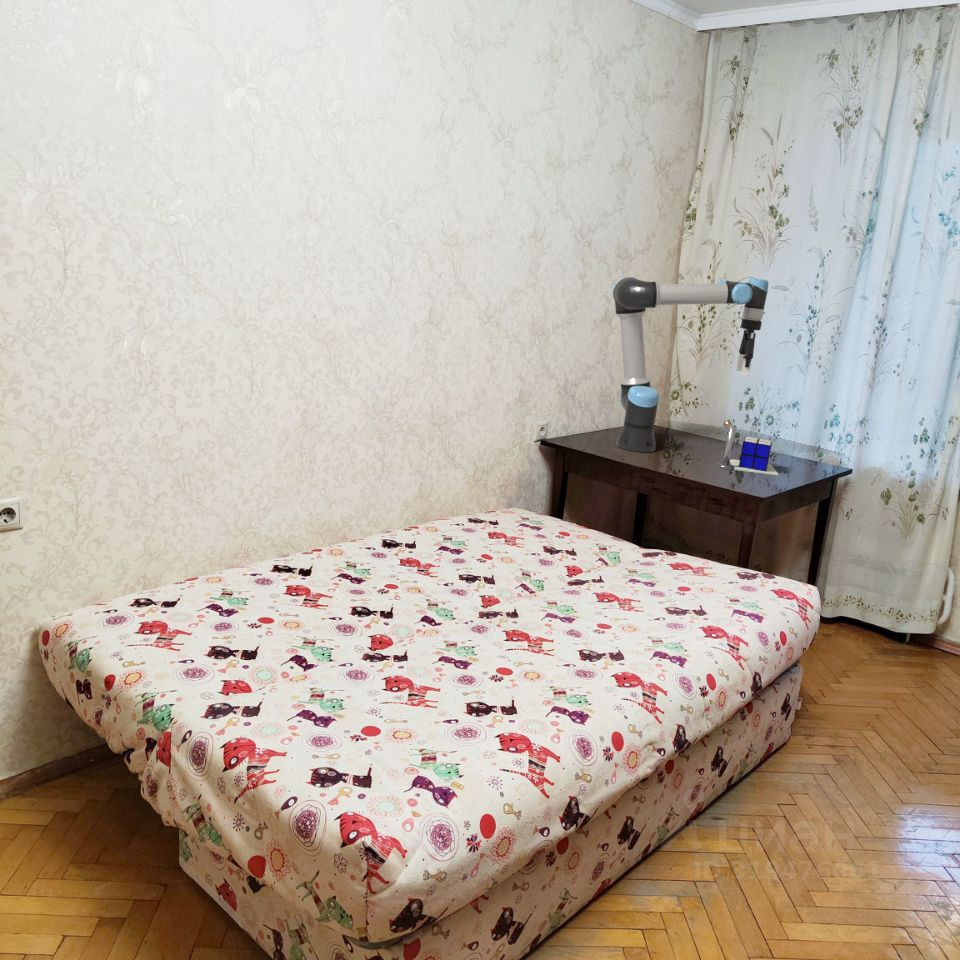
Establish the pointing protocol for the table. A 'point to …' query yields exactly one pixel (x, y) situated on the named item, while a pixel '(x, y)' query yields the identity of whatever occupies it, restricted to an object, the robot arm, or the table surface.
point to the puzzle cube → (755, 453)
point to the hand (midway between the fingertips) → (742, 373)
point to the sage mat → (769, 470)
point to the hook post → (728, 446)
